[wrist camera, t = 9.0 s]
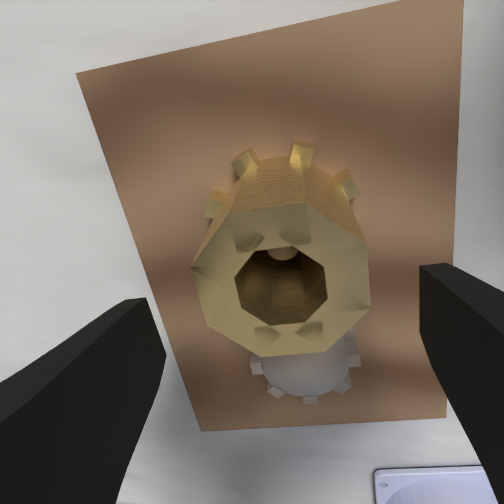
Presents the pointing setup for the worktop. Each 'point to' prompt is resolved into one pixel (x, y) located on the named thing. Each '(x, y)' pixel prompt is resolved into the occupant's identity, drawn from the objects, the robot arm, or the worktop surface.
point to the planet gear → (283, 271)
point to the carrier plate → (325, 157)
